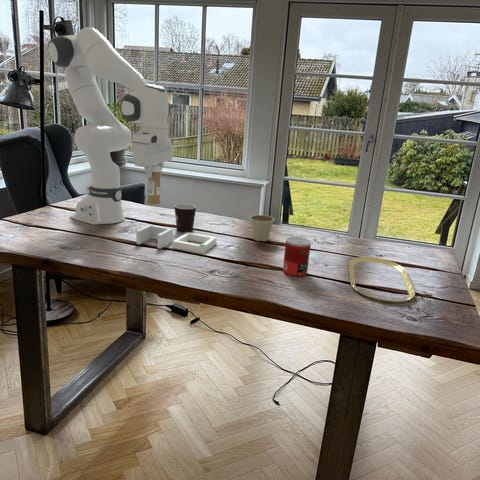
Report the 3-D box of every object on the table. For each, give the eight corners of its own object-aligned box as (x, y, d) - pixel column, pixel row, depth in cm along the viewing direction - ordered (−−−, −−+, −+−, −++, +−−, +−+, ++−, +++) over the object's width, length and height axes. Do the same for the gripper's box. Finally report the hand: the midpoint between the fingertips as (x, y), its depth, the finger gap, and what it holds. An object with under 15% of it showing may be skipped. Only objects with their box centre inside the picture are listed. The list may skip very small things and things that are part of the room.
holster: (136, 243, 153) (136, 230, 151) (149, 237, 161) (149, 224, 159) (160, 248, 150) (160, 235, 148) (172, 241, 158) (172, 228, 156)
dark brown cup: (193, 234, 167) (194, 209, 164) (172, 232, 167) (172, 208, 164) (197, 225, 178) (198, 202, 175) (177, 224, 178) (177, 201, 175)
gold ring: (400, 265, 151) (401, 261, 151) (419, 310, 119) (420, 304, 118) (347, 258, 154) (348, 254, 154) (351, 299, 122) (352, 294, 121)
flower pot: (244, 240, 165) (246, 218, 162) (253, 233, 173) (255, 213, 170) (267, 244, 161) (269, 223, 159) (275, 238, 170) (277, 217, 167)
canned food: (301, 279, 132) (305, 246, 128) (278, 273, 136) (281, 240, 132) (310, 272, 138) (314, 240, 135) (288, 266, 142) (292, 235, 139)
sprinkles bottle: (162, 204, 150) (163, 166, 145) (150, 205, 147) (150, 166, 143) (157, 201, 153) (157, 164, 149) (145, 202, 151) (145, 164, 146)
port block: (172, 247, 151) (172, 239, 150) (187, 238, 162) (187, 230, 161) (203, 253, 148) (203, 245, 147) (216, 243, 159) (216, 235, 158)
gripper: (161, 133, 153) (161, 171, 157) (129, 136, 134) (129, 179, 139) (177, 134, 151) (176, 173, 155) (146, 138, 132) (146, 182, 137)
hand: (153, 176), depth 147 cm, fingers closed on sprinkles bottle, 4 cm apart
